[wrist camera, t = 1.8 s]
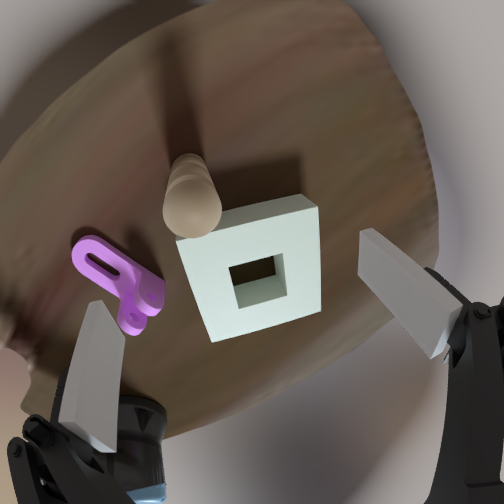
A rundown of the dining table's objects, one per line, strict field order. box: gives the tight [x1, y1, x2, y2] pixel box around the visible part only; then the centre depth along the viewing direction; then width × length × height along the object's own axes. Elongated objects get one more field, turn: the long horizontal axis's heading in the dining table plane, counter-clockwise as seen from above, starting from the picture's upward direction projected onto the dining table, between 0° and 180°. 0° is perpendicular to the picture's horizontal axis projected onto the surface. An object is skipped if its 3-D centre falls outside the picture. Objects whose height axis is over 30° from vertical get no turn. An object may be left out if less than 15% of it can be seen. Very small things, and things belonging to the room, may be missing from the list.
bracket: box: [72, 235, 165, 336], centre depth 31 cm, size 13×6×7 cm, turn 45°
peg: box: [163, 153, 222, 238], centre depth 24 cm, size 4×4×14 cm
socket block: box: [176, 194, 321, 342], centre depth 36 cm, size 16×16×5 cm
